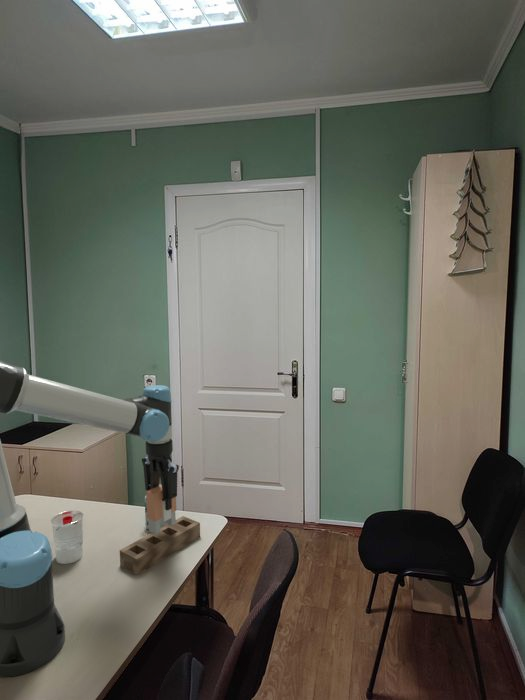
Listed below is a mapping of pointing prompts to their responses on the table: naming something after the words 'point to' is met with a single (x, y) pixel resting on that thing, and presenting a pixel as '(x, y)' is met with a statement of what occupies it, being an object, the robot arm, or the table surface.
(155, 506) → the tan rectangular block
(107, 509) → the table surface
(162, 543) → the brown long block
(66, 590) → the table surface
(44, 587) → the robot arm
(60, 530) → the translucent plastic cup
